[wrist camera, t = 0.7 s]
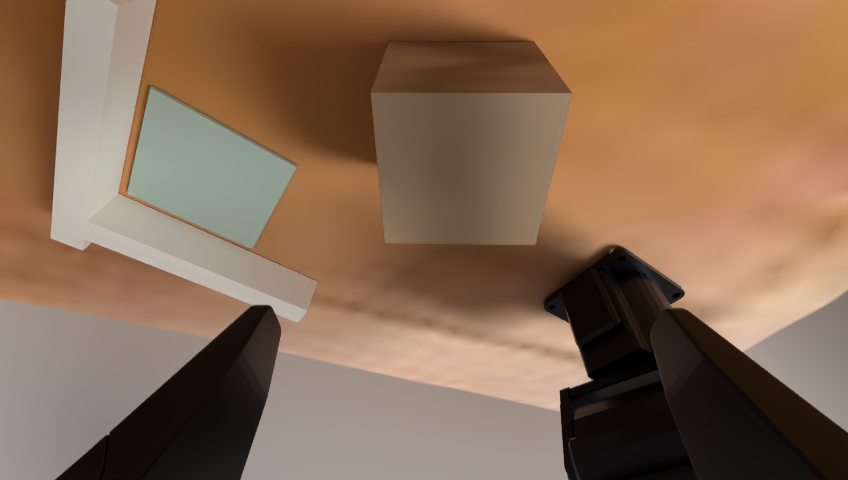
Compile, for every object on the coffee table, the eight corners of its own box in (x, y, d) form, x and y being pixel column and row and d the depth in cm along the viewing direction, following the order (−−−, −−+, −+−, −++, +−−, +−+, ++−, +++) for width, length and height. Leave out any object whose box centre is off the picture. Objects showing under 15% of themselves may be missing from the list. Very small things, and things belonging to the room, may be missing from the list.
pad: (297, 165, 20) (296, 167, 20) (253, 247, 24) (252, 249, 24) (152, 86, 17) (150, 87, 17) (129, 191, 21) (127, 193, 21)
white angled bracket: (413, 154, 19) (410, 180, 17) (302, 301, 27) (292, 330, 25) (115, -34, 15) (67, -25, 13) (83, 210, 22) (50, 238, 20)
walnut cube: (533, 41, 16) (571, 93, 11) (512, 168, 20) (535, 245, 15) (389, 40, 16) (370, 92, 12) (396, 167, 20) (384, 243, 15)
